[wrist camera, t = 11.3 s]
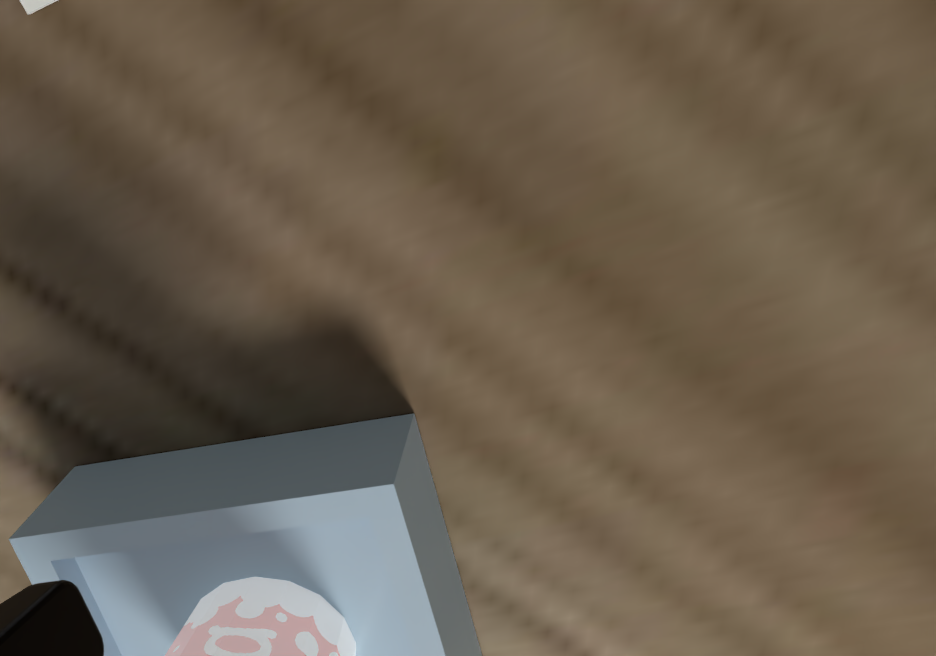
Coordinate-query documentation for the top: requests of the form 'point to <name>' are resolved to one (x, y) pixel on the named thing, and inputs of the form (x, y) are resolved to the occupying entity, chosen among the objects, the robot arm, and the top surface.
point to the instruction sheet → (35, 5)
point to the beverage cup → (263, 623)
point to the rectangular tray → (260, 536)
